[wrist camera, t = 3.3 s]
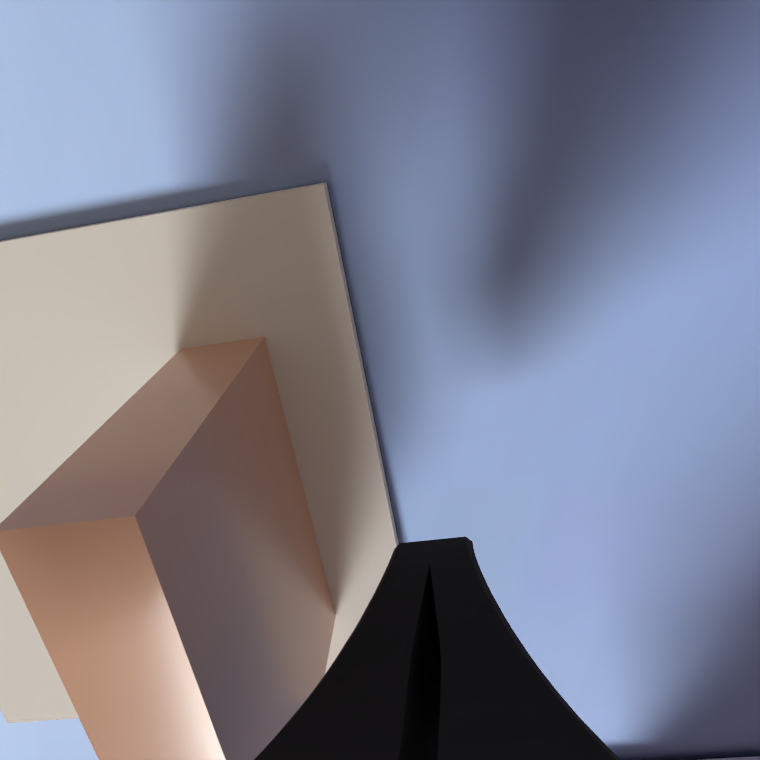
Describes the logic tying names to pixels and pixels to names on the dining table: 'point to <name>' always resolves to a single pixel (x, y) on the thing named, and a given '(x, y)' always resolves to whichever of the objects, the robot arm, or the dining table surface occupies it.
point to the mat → (158, 345)
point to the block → (180, 566)
